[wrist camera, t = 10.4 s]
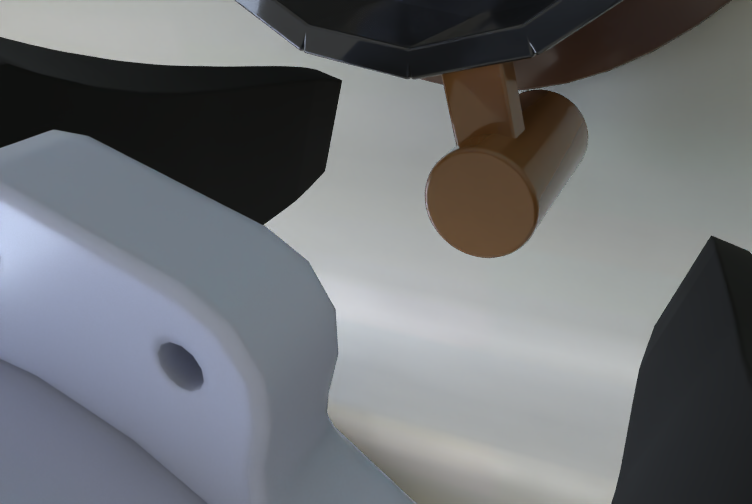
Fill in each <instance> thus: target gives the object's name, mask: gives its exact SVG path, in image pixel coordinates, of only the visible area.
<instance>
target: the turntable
mask: <svg viewBox="0 0 752 504" xmlns="http://www.w3.org/2000/svg"><path fill="white" fill-rule="evenodd" d="M730 1H731V0H623V1H622V2H620V3H619V4H617V5H616V6H614V7H613V8H611V9H610V10H608V11H607V12H605V13H604V14H602V15H600V16H599V17H597V18H596V19H594V20H593V21H591V22H590V23H588V24H587V25H585V26H584V27H582V28H581V29H579V30H577V31H576V32H574V33H573V34H571V35H570V36H568V37H567V38H565V39H564V40H562V41H561V42H559V43H558V44H556V45H554V46H553V47H551V48H550V49H548V50H547V51H545V52H544V53H542V54H541V55H535V56H534V57H532V58H530V59H525V60H519V61H514V62H513V64H514V70H515V75H516V81H517V87H518V90H528V89H534V88H541V87H547V86H553V85H559V84H566V83H570V82H573V81H576V80H580V79H583V78H586V77H590V76H593V75H597V74H600V73H603V72H607V71H610V70H612V69H614V68H617V67H619V66H621V65H624V64H626V63H628V62H630V61H633V60H635V59H637V58H640V57H642V56H644V55H646V54H649V53H651V52H653V51H655V50H657V49H658V48H660V47H662V46H664V45H665V44H667V43H669V42H670V41H672V40H674V39H676V38H677V37H679V36H681V35H682V34H684V33H686V32H687V31H689V30H691V29H693V28H694V27H696V26H698V25H699V24H701V23H702V22H703V21H705V20H706V19H707V18H709V17H710V16H711V15H713V14H714V13H715V12H717V11H718V10H719V9H721V8H722V7H723V6H725V5H726V4H727V3H729V2H730ZM421 79H422V80H426V81H430V82H434V83H438V84H442V85H443V80H442V75H437V76H432V77H426V78H421Z"/></svg>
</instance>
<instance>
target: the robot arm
mask: <svg viewBox="0 0 752 504" xmlns="http://www.w3.org/2000/svg"><path fill="white" fill-rule="evenodd" d="M341 83H342V80H340V79H337V78H335V77H332V76H330V75H328V74H325V73H323V72H321V71H318V70H315V69H310V68H303V67H287V66H245V67H212V66H170V65H154V64H143V63H133V62H124V61H116V60H109V59H103V58H97V57H91V56H85V55H79V54H73V53H67V52H62V51H57V50H52V49H48V48H43V47H39V46H34V45H30V44H26V43H22V42H18V41H14V40H10V39H6V38H2V37H0V504H417V503H416V502H414V501H413V500H412V499H411V498H410V497H409V496H408V495H407V494H406V493H405V492H404V491H403V490H402V489H401V488H400V487H398V486H397V485H396V484H395V483H394V482H393V481H392V480H391V479H390V478H389V477H388V476H387V475H386V474H385V473H384V472H382V471H381V470H380V469H379V468H378V467H377V466H376V465H375V464H374V463H373V462H372V461H371V460H370V459H369V458H368V457H366V456H365V455H364V454H363V453H362V452H361V451H360V450H359V449H358V448H357V447H356V446H355V445H354V444H353V443H352V442H350V441H349V440H348V439H347V438H346V437H345V436H344V435H343V434H342V433H341V432H340V431H339V430H338V429H337V428H336V427H334V425H333V423H332V421H331V420H330V418H329V416H328V413H327V405H328V393H329V389H330V385H331V381H332V377H333V373H334V369H335V365H336V361H337V357H338V342H337V326H336V310H335V308H334V306H333V304H332V302H331V300H330V299H329V297H328V295H327V293H326V292H325V290H324V288H323V286H322V285H321V283H320V281H319V279H318V277H317V276H316V274H315V272H314V270H313V269H312V267H311V265H310V263H309V262H308V261H307V260H306V259H305V258H304V257H302V256H301V255H300V254H299V253H297V252H296V251H295V250H294V249H293V248H291V247H290V246H289V245H288V244H286V243H285V242H284V241H283V240H281V239H280V238H279V237H278V236H276V235H275V234H274V233H273V232H271V231H270V230H269V229H268V228H267V227H265V226H263V225H264V224H265V223H266V222H268V221H269V220H271V219H272V218H273V217H275V216H276V215H277V214H279V213H280V212H281V211H283V210H284V209H286V208H287V207H288V206H290V205H291V204H292V203H293V202H295V201H296V200H297V199H298V198H299V197H300V196H301V195H302V194H303V193H304V192H305V191H306V190H307V189H309V188H310V186H311V185H312V184H313V183H314V182H315V181H316V180H317V179H318V178H319V177H320V176H321V175H322V174H323V173H324V172H325V168H326V163H327V157H328V152H329V147H330V141H331V136H332V131H333V126H334V120H335V115H336V110H337V104H338V99H339V94H340V89H341ZM611 504H752V254H751V253H750V252H749V251H747V250H745V249H742V248H740V247H737V246H735V245H733V244H730V243H728V242H725V241H723V240H721V239H718V238H716V237H714V236H711V237H710V238H709V240H708V241H707V243H706V245H705V246H704V248H703V249H702V251H701V253H700V254H699V256H698V257H697V259H696V261H695V262H694V264H693V265H692V267H691V269H690V270H689V272H688V273H687V275H686V277H685V278H684V280H683V281H682V283H681V285H680V286H679V288H678V289H677V291H676V293H675V294H674V296H673V297H672V299H671V301H670V302H669V304H668V305H667V307H666V309H665V310H664V312H663V313H662V315H661V317H660V318H659V320H658V321H657V323H656V325H655V326H654V329H653V332H652V335H651V337H650V340H649V343H648V346H647V348H646V351H645V354H644V357H643V360H642V363H641V365H640V368H639V373H638V378H637V383H636V388H635V394H634V399H633V404H632V410H631V415H630V421H629V426H628V432H627V437H626V443H625V448H624V454H623V459H622V465H621V470H620V474H619V478H618V482H617V486H616V490H615V494H614V497H613V500H612V503H611Z"/></svg>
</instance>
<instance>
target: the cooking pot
mask: <svg viewBox="0 0 752 504" xmlns="http://www.w3.org/2000/svg"><path fill="white" fill-rule="evenodd" d="M235 1H236V2H237V3H239V4H240V5H241V6H243V7H244V8H245V9H247V10H248V11H249V12H251V13H252V14H253V15H254V16H256V17H257V18H258V19H260V20H261V21H262V22H264V23H265V24H266V25H268V26H269V27H270V28H271V29H273V30H274V31H275V32H277V33H278V34H279V35H281V36H282V37H283V38H285V39H286V40H287V41H288V42H290V43H291V44H292V45H294V46H295V47H296V48H298V49H299V50H302V51H303V50H304V52H305V53H307V54H311V55H315V56H319V57H323V58H327V59H331V60H334V61H338V62H342V63H346V64H350V65H354V66H358V67H362V68H366V69H369V70H373V71H377V72H381V73H385V74H389V75H393V76H397V77H400V78H404V79H410V78H412V79H421V78H426V77H432V76H437V75H442V80H443V85H444V89H445V94H446V99H447V103H448V108H449V113H450V118H451V122H452V127H453V132H454V136H455V141H456V146H455V147H454V148H453V149H452V150H450V151H449V152H448V153H447V154H446V155H445V156H443V157H442V158H441V159H440V160H439V161H438V162H437V163H436V164H435V166H434V167H433V168H432V170H431V172H430V174H429V176H428V179H427V183H426V188H425V203H426V209H427V212H428V216H429V218H430V220H431V222H432V224H433V226H434V227H435V229H436V230H437V232H438V233H439V234H440V235H441V236H442V238H443V239H444V240H446V241H447V242H448V243H449V244H450V245H452V246H453V247H455V248H456V249H458V250H460V251H462V252H464V253H466V254H469V255H472V256H476V257H482V258H494V257H500V256H505V255H508V254H511V253H513V252H515V251H516V250H518V249H519V248H521V247H522V246H523V245H524V244H525V243H526V242H527V241H528V240H529V239H530V238H531V236H532V235H533V233H534V232H535V230H536V229H537V227H538V226H539V224H540V223H541V221H542V220H543V218H544V217H545V215H546V214H547V212H548V211H549V209H550V208H551V206H552V205H553V203H554V202H555V200H556V199H557V197H558V196H559V194H560V193H561V191H562V190H563V188H564V187H565V185H566V184H567V182H568V181H569V179H570V178H571V176H572V175H573V173H574V172H575V170H576V169H577V167H578V166H579V164H580V163H581V161H582V159H583V158H584V156H585V153H586V150H587V146H588V130H587V125H586V123H585V120H584V118H583V116H582V114H581V112H580V111H579V110H578V108H577V107H576V106H575V105H574V104H573V103H572V102H571V101H570V100H568V99H567V98H565V97H564V96H562V95H560V94H558V93H555V92H552V91H547V90H531V91H526V92H523V93H521V94H519V93H518V87H517V81H516V75H515V70H514V64H513V62H514V61H519V60H525V59H530V58H532V57H534V56H535V55H541V54H542V53H544V52H545V51H547V50H548V49H550V48H551V47H553V46H554V45H556V44H558V43H559V42H561V41H562V40H564V39H565V38H567V37H568V36H570V35H571V34H573V33H574V32H576V31H577V30H579V29H581V28H582V27H584V26H585V25H587V24H588V23H590V22H591V21H593V20H594V19H596V18H597V17H599V16H600V15H602V14H604V13H605V12H607V11H608V10H610V9H611V8H613V7H614V6H616V5H617V4H619V3H620V2H622V1H623V0H235Z"/></svg>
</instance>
